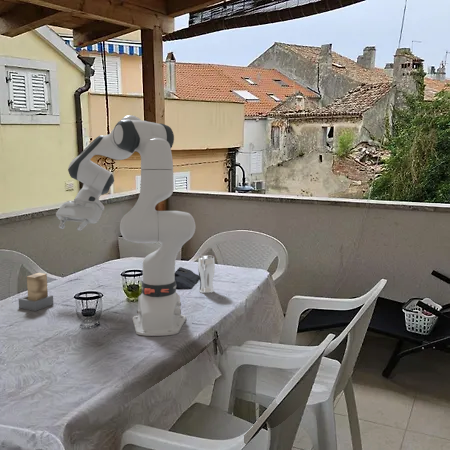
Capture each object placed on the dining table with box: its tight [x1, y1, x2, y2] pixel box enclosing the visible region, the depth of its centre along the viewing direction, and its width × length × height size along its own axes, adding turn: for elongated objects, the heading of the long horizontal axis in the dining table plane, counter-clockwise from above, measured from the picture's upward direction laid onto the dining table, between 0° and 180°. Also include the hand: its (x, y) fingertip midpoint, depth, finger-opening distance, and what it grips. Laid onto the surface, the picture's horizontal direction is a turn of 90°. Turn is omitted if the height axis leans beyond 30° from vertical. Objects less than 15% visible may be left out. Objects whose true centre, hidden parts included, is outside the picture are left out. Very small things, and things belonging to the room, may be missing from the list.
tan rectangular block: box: [26, 272, 49, 301], centre depth 192 cm, size 6×4×12 cm, turn 154°
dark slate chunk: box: [175, 266, 200, 290], centre depth 226 cm, size 15×22×5 cm
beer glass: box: [197, 254, 216, 294], centre depth 211 cm, size 7×7×15 cm
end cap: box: [18, 294, 54, 312], centre depth 192 cm, size 9×8×4 cm
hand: (69, 228), depth 203 cm, fingers open, 8 cm apart
